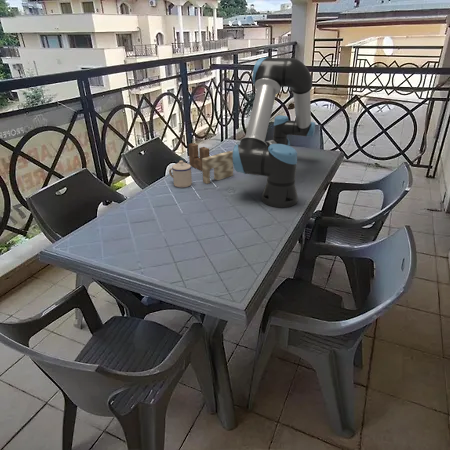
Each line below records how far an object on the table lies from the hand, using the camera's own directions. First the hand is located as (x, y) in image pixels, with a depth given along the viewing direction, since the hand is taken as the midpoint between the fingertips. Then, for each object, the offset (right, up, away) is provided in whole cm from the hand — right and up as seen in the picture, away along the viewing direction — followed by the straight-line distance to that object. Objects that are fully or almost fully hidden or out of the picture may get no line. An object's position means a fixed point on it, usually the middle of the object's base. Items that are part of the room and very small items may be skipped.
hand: (238, 157), depth 177 cm
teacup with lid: (-29, -15, -9) cm, 34 cm away
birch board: (-10, -12, -4) cm, 16 cm away
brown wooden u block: (-21, -4, +9) cm, 23 cm away
